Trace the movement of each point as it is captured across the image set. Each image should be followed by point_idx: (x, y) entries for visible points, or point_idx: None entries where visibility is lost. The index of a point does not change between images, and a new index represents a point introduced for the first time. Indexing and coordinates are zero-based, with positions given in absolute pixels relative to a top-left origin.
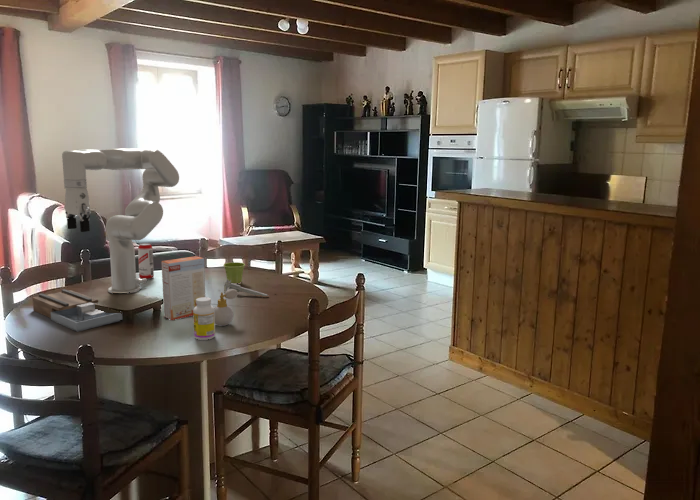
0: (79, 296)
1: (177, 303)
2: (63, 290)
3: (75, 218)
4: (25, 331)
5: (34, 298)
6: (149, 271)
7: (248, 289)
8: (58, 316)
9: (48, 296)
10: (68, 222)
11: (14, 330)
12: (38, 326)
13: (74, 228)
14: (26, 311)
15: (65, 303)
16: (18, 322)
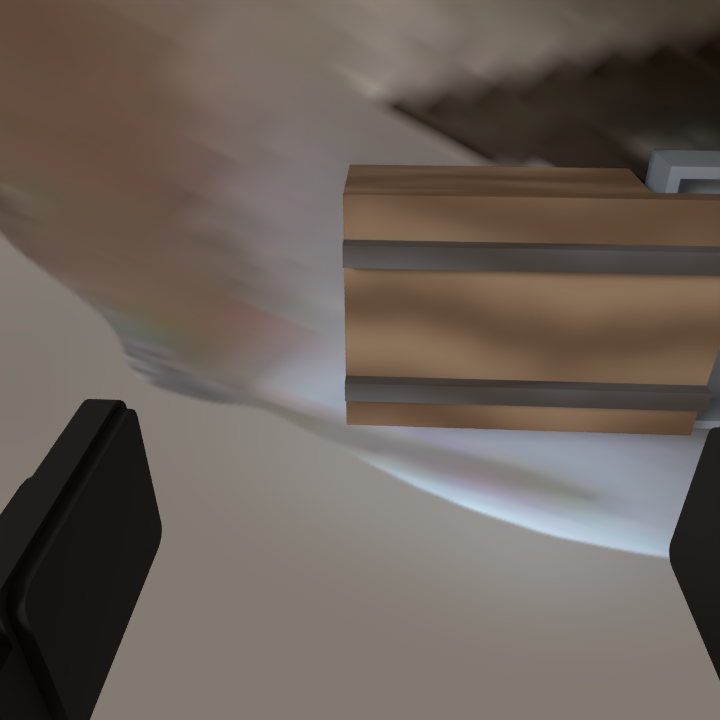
0: (616, 272)
1: None
2: (372, 268)
3: (7, 600)
4: (644, 517)
5: (375, 424)
6: None
7: None
8: (700, 424)
9: (449, 392)
10: (114, 655)
11: (589, 533)
12: (629, 464)
13: (133, 433)
14: (339, 402)
15: (689, 402)
16: (493, 487)
